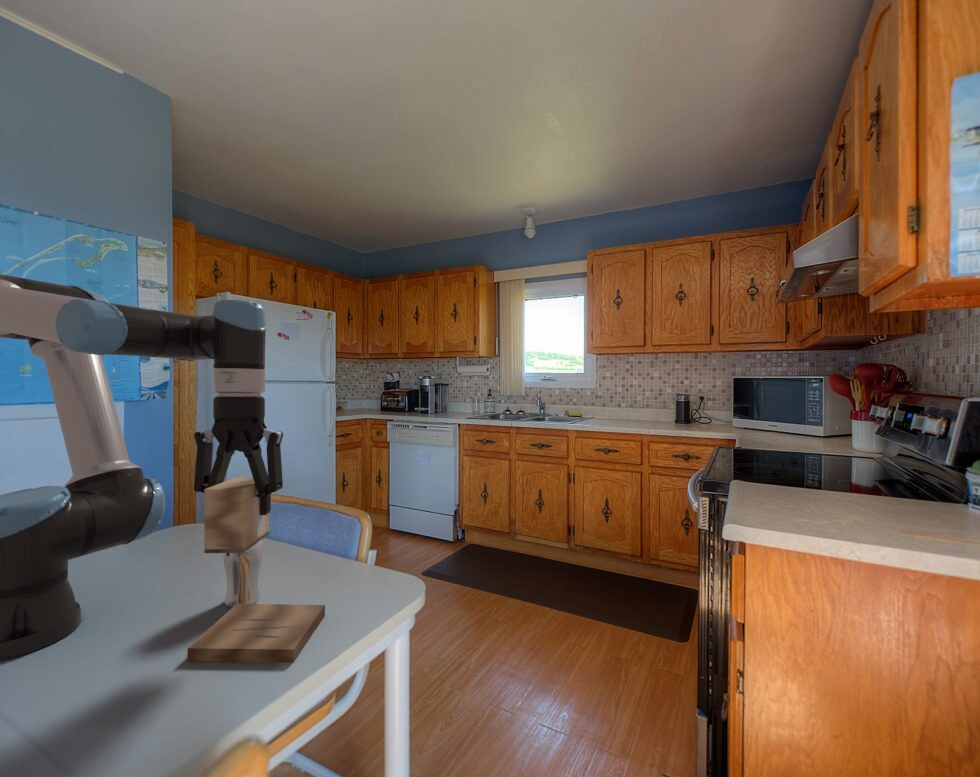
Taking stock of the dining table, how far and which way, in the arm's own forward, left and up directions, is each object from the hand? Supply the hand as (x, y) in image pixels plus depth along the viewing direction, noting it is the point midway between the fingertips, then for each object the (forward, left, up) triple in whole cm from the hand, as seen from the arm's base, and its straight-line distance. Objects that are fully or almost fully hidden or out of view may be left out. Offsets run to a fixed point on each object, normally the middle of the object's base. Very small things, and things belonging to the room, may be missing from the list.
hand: (238, 533), depth 76 cm
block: (0, 0, -2) cm, 2 cm away
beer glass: (-6, +13, -17) cm, 22 cm away
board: (+4, 0, -17) cm, 18 cm away
